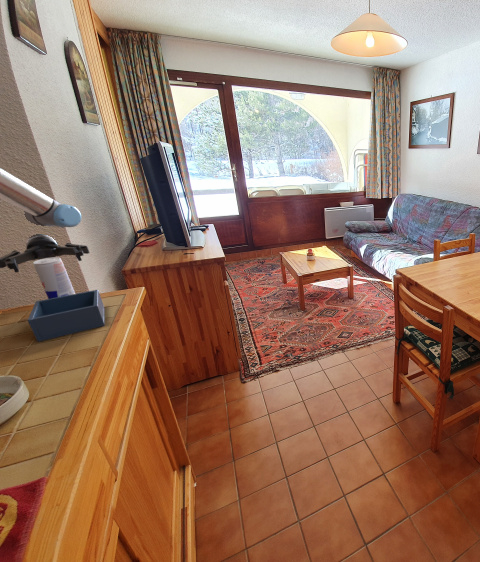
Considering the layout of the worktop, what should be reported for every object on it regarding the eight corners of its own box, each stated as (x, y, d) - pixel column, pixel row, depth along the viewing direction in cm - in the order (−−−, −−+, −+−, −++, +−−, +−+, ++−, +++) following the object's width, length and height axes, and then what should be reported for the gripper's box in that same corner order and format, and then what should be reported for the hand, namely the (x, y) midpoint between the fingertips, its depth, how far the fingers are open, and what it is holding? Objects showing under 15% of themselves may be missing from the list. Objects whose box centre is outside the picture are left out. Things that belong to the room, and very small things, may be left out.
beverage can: (79, 302, 94) (60, 255, 88) (80, 308, 91) (61, 260, 85) (53, 307, 91) (32, 259, 85) (54, 314, 87) (32, 264, 81)
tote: (37, 342, 75) (27, 320, 72) (44, 321, 84) (35, 301, 81) (104, 325, 82) (97, 305, 80) (104, 307, 91) (97, 289, 89)
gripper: (93, 250, 115) (105, 263, 102) (-9, 266, 98) (-10, 285, 85) (86, 230, 112) (98, 241, 99) (-20, 243, 95) (-23, 259, 82)
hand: (48, 262), depth 92 cm, fingers open, 13 cm apart
